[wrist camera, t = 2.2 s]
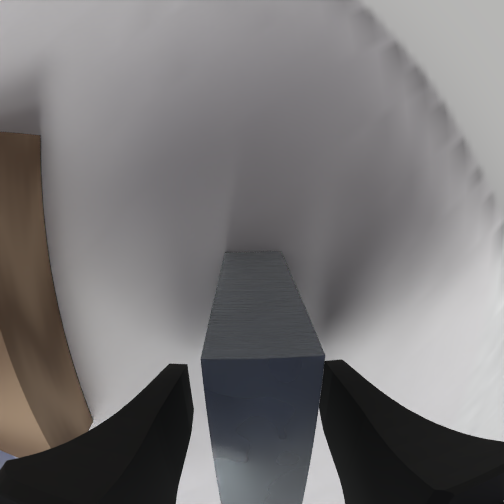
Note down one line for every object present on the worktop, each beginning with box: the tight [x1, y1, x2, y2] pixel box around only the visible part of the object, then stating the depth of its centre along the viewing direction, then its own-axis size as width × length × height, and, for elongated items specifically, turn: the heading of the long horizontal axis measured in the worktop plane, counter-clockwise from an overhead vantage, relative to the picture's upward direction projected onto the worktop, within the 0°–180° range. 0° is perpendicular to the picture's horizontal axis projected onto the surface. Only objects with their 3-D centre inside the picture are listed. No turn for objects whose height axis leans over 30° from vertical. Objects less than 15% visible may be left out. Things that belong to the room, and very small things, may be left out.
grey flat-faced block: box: [201, 251, 325, 504], centre depth 9 cm, size 8×2×7 cm, turn 1°
